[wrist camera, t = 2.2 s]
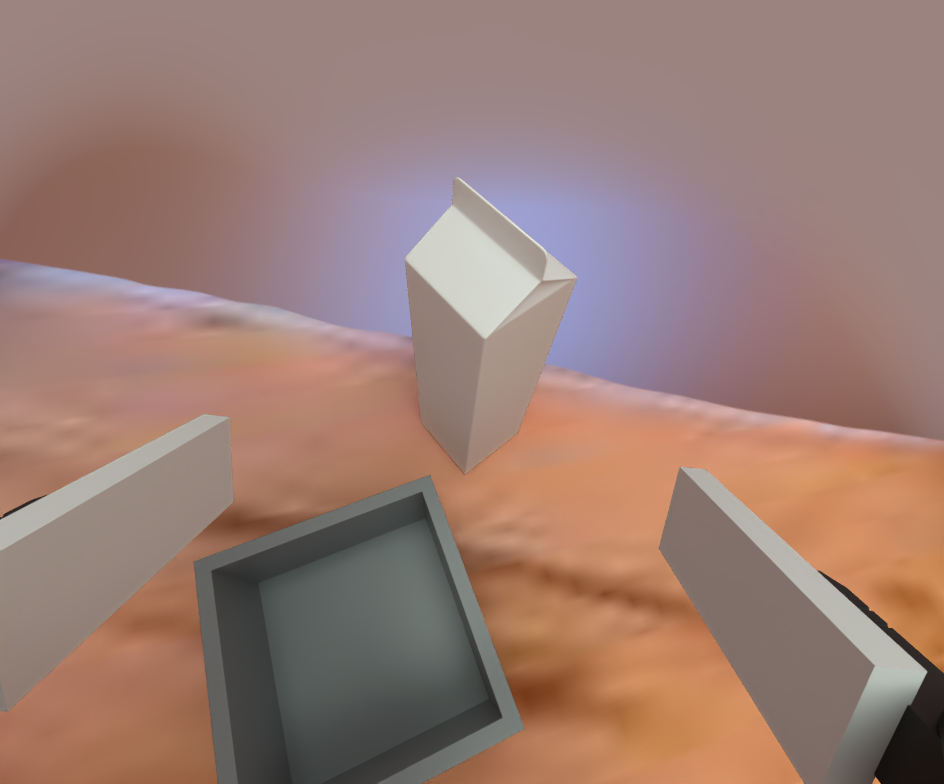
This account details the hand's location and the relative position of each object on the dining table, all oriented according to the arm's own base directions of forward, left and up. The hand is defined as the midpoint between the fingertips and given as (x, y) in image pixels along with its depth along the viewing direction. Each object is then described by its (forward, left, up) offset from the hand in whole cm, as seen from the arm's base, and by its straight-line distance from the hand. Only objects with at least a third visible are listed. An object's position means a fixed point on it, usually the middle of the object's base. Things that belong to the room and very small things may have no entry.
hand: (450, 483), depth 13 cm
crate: (+2, -6, -22) cm, 23 cm away
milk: (-10, +6, -22) cm, 25 cm away
